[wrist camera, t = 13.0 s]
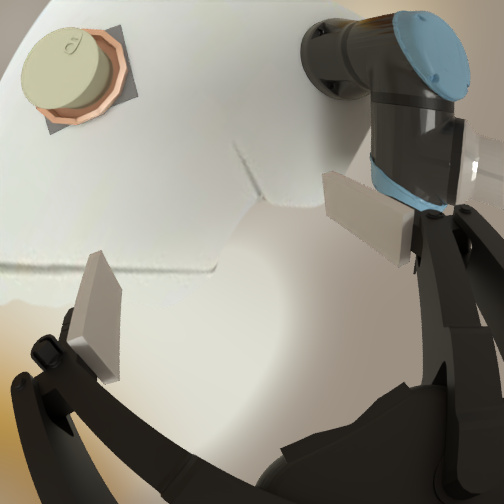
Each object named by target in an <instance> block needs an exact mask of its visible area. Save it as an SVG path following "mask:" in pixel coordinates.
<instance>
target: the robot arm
mask: <svg viewBox="0 0 504 504" xmlns="http://www.w3.org/2000/svg"><path fill="white" fill-rule="evenodd" d="M301 59H302V64H303V67H304V70H305V72H306V74H307V76H308V77H309V79H310V80H311V82H312V83H313V84H314V85H315V86H316V87H317V88H318V89H319V90H320V91H321V92H323V93H324V94H326V95H328V96H330V97H332V98H336V99H344V100H353V99H359V98H362V97H364V96H366V95H368V94H370V93H371V135H372V136H371V153H370V161H371V177H372V183H373V185H374V187H375V188H376V190H377V191H376V190H374V189H372V188H369V187H367V186H365V185H363V184H361V183H359V182H356V181H354V180H352V179H350V178H347V177H345V176H343V175H341V174H338V173H336V172H334V171H331V172H327V173H324V174H322V178H323V187H324V196H325V206H326V215H327V216H328V217H330V218H331V219H333V220H334V221H336V222H337V223H338V224H340V225H341V226H343V227H344V228H345V229H347V230H348V231H350V232H351V233H352V234H354V235H355V236H357V237H358V238H359V239H361V240H362V241H363V242H365V243H366V244H368V245H369V246H370V247H372V248H373V249H374V250H376V251H378V252H379V253H380V254H381V255H382V256H384V257H385V258H386V259H388V260H389V261H390V262H392V263H393V264H394V265H396V266H397V267H398V268H399V267H401V266H402V265H405V264H407V263H408V262H410V252H411V251H412V252H413V253H415V254H416V260H415V266H414V273H413V274H416V271H417V277H418V287H419V296H420V307H421V320H422V339H423V378H422V384H421V385H420V386H415V387H411V388H409V387H408V386H407V385H406V384H405V383H404V382H403V383H402V384H400V385H399V386H398V387H396V388H394V389H393V390H391V391H390V392H388V393H387V394H385V395H383V396H382V397H380V398H379V399H377V400H376V401H375V402H374V403H373V404H372V406H370V407H369V408H368V409H367V410H366V411H365V412H364V413H363V414H362V415H361V416H360V417H359V418H358V419H357V420H356V421H355V422H354V423H352V424H350V425H347V426H343V427H339V428H336V429H332V430H328V431H323V432H319V433H315V434H312V435H310V436H308V437H306V438H304V439H301V440H299V441H297V442H295V443H292V444H290V445H287V446H285V447H283V448H280V449H281V452H282V454H283V455H282V456H281V457H280V458H278V459H277V460H276V461H274V462H273V463H272V464H271V465H270V466H269V467H268V468H267V469H266V470H265V472H264V473H263V474H262V475H261V477H260V478H259V480H258V482H257V484H256V486H252V485H250V484H248V483H246V482H244V481H242V480H240V479H238V478H236V477H234V476H232V475H230V474H228V473H226V472H225V471H222V470H221V469H219V468H217V467H215V466H214V465H212V464H210V463H208V462H206V461H205V460H203V459H201V458H199V457H198V456H196V455H194V454H191V453H189V452H188V451H186V450H185V449H183V448H181V447H180V446H178V445H177V444H175V443H174V442H172V441H171V440H169V439H168V438H167V437H165V436H164V435H162V434H161V433H159V432H158V431H157V430H155V429H154V428H152V427H151V426H150V425H148V424H147V423H146V422H144V421H143V420H142V419H140V418H139V417H138V416H137V415H135V414H134V413H133V412H132V411H130V410H129V409H128V408H127V407H125V406H124V405H123V404H122V403H120V402H119V401H118V400H117V399H116V398H115V397H113V396H112V395H111V394H110V393H109V392H108V391H107V390H105V389H104V388H103V387H102V386H101V385H100V384H99V383H98V382H97V377H98V378H99V379H100V380H101V381H102V382H103V384H105V385H106V384H109V383H113V382H117V381H120V375H119V374H120V371H119V345H120V344H119V343H120V342H119V341H120V314H121V297H122V289H121V287H120V285H119V283H118V281H117V279H116V278H115V276H114V274H113V272H112V270H111V268H110V266H109V264H108V262H107V260H106V259H105V257H104V255H103V253H102V251H101V250H100V251H98V252H95V253H93V254H90V255H89V258H88V261H87V264H86V267H85V271H84V274H83V277H82V281H81V284H80V288H79V291H78V295H77V298H76V302H75V306H74V307H73V308H71V309H69V311H68V312H67V314H66V315H65V317H64V321H63V324H62V325H63V326H62V328H61V333H60V337H59V341H57V339H56V338H55V337H54V336H53V335H51V334H49V335H45V336H43V337H41V338H40V339H39V340H37V342H36V343H35V344H34V346H33V348H32V350H31V358H32V359H33V360H34V361H35V363H37V365H38V366H39V367H40V368H41V369H42V370H43V371H44V372H42V373H41V374H39V375H38V376H36V377H34V378H33V377H32V376H31V375H30V374H29V373H28V372H22V373H20V374H18V375H17V376H16V377H15V378H14V380H13V382H12V385H11V397H12V403H13V409H14V414H15V419H16V423H17V428H18V432H19V436H20V440H21V444H22V448H23V452H24V455H25V458H26V462H27V465H28V468H29V471H30V474H31V477H32V480H33V482H34V485H35V488H36V490H37V493H38V496H39V498H40V500H41V503H42V504H118V503H117V501H116V500H115V498H114V497H113V495H112V494H111V492H110V491H109V489H108V487H107V486H106V484H105V482H104V481H103V479H102V477H101V476H100V474H99V472H98V471H97V469H96V467H95V465H94V463H93V461H92V460H91V458H90V456H89V454H88V452H87V450H86V448H85V446H84V444H83V442H82V440H81V438H80V436H79V434H78V432H77V429H76V427H75V425H74V423H73V420H72V418H71V416H70V413H72V412H74V411H75V412H76V413H77V415H78V416H79V417H80V418H81V419H82V421H83V422H84V423H85V424H86V425H87V426H88V427H89V428H90V429H91V431H92V432H94V434H95V435H96V436H97V437H98V438H99V439H100V440H101V441H102V442H103V443H104V444H105V445H106V446H107V447H108V448H109V449H110V450H111V451H112V452H113V453H114V454H115V455H116V456H117V457H118V458H119V459H121V460H122V461H123V462H124V463H125V464H126V465H127V466H128V467H129V468H130V469H132V470H133V471H134V472H135V473H136V474H137V475H139V476H140V477H141V478H142V479H143V480H145V481H146V482H147V483H149V484H150V485H151V486H152V487H153V488H155V489H156V490H157V491H158V492H159V493H160V494H161V497H162V498H163V499H164V500H165V501H166V502H168V503H169V504H504V398H502V391H501V383H500V375H499V368H498V362H497V356H496V351H495V346H494V341H493V338H494V340H495V342H496V344H497V347H498V349H499V352H500V354H501V356H502V359H503V361H504V239H503V238H502V237H501V236H500V235H499V234H498V232H497V231H496V230H495V229H494V228H493V227H492V226H491V225H490V224H489V223H488V222H487V221H486V220H485V219H484V218H483V217H482V216H481V215H480V214H479V213H478V212H477V211H476V210H475V209H474V208H473V207H470V206H469V205H465V204H463V203H464V202H466V201H467V200H470V199H473V200H476V201H479V202H483V203H486V204H489V205H492V206H495V207H498V208H501V209H503V210H504V142H503V141H500V140H496V139H493V138H489V137H486V136H482V135H479V134H478V133H477V132H476V131H475V130H474V128H473V127H472V126H471V124H470V123H469V122H468V121H467V120H464V119H460V118H456V117H454V101H457V100H460V99H462V98H464V97H465V95H466V94H467V92H468V90H467V88H468V87H469V85H470V69H469V64H468V59H467V56H466V53H465V50H464V48H463V46H462V44H461V42H460V40H459V38H458V37H457V36H456V34H455V32H454V31H453V29H452V28H451V27H450V26H449V25H448V24H447V23H446V22H445V21H444V20H443V19H441V18H440V17H439V16H437V15H435V14H433V13H431V12H427V11H399V12H396V13H392V14H387V15H382V16H378V17H373V18H369V19H365V20H361V21H354V20H347V19H340V18H333V19H327V20H324V21H321V22H319V23H316V24H315V25H313V26H312V27H311V28H310V29H309V30H308V31H307V32H306V34H305V36H304V38H303V41H302V45H301ZM378 191H379V192H378ZM448 204H450V205H453V206H454V212H453V215H449V216H445V215H444V214H443V213H442V212H443V211H444V209H445V208H446V207H447V205H448ZM471 244H472V249H471ZM475 302H476V303H475ZM476 304H477V306H478V308H479V310H480V311H481V314H482V315H483V317H484V319H485V321H486V323H487V325H488V326H486V327H483V326H481V323H480V319H479V315H478V311H477V307H476Z"/></svg>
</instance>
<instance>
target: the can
mask: <svg viewBox="0 0 504 504" xmlns="http://www.w3.org/2000/svg"><path fill="white" fill-rule="evenodd" d="M112 79H113V65H112V61H111V59H110V58H109V56H108V55H107V54H106V53H105V52H104V51H102V50H101V49H100V47H99V46H98V45H97V43H96V41H95V40H94V38H93V37H92V36H91V35H90V34H89V33H88V32H86V31H85V30H82V29H79V28H74V27H69V28H62V29H59V30H56V31H53V32H51V33H50V34H48V35H46V36H45V37H43V38H42V39H41V40H40V41H39V42H38V43H37V44H36V45H35V46H34V47H33V48H32V50H31V51H30V53H29V54H28V56H27V58H26V60H25V62H24V65H23V69H22V74H21V85H22V90H23V92H24V95H25V96H26V98H27V99H28V100H29V102H31V103H32V104H33V105H35V106H37V107H39V108H42V109H56V108H69V109H83V108H87V107H89V106H91V105H93V104H95V103H96V102H98V101H99V100H100V99H101V98H102V97H103V96H104V95H105V93H106V92H107V91H108V89H109V87H110V85H111V82H112Z"/></svg>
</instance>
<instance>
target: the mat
mask: <svg viewBox="0 0 504 504" xmlns="http://www.w3.org/2000/svg"><path fill="white" fill-rule="evenodd" d="M104 31H105V32H107V33H108V34H109V35H110V36H112V37H113V38H114V39H115V40H117V41H118V42H119V43H120V44H121V45H122V47H123V50H124V55H125V59H126V63H127V67H128V73H127V76H126V80H125V84H124V87H123V89H122V93H121V95H120V96H119V97H118V98H117V99H116V101H115V102H114V103H113V104H112V105H111V106H114V105H117V104H119V103H122V102H124V101H127V100H130V99H132V98H135V97H138V94H137V91H136V87H135V83H134V79H133V75H132V71H131V67H130V63H129V59H128V55H127V51H126V47H125V42H124V38H123V33H122V29H121V25H118V26H115V27H113V28H110V29H107V30H104ZM111 106H110V107H111ZM45 119H46V123H47V126H48V130H49V133H50V135H51V134H53V133H55V132H57V131H59V130H61V129H63V128H65V127H67V126H69V125H71V124H60V123H52V122H51V121H50V120H49V119H48V118H47V117H45Z"/></svg>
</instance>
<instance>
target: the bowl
mask: <svg viewBox="0 0 504 504" xmlns="http://www.w3.org/2000/svg"><path fill="white" fill-rule="evenodd" d="M82 30H85V31H86V32H88V33H89V34H90V35H91V36H92V37H93V38H94V40H95V41H96V43H97V45H98V46H99V47H100V49H101V50H102V51H104V52H105V53H106V54H107V55H108V56H109V58H110V59H111V61H112V65H113V79H112V82H111V85H110V87H109V89H108V91H107V92H106V93H105V95H104V96H103V97H102V98H101V99H100V100H99V101H98V102H96V103H95V104H93V105H91V106H89V107H87V108H83V109H69V108H56V109H42V108H39V107H37V106H36V109H37V110H38V111H40V112H41V113H42V114H43V115H44V116H45V117H47V118H48V119H49V120H50V121H51V122H52V123H60V124H72V125H78V124H82V123H84V122H86V121H88V120H91V119H93V118H95V117H97V116H100V115H102V114H104V113H105V112H106V111H107V109H108V108H109V107H110V106H111V105H112V104H113V103H114V102H115V101H116V99H117V98H118V97H119V96H120V95H121V93H122V89H123V87H124V84H125V80H126V76H127V73H128V67H127V63H126V59H125V55H124V50H123V47H122V45H121V44H120V43H119V42H118V41H117V40H115V39H114V38H113V37H112V36H110V35H109V34H108V33H107V32H105V31H104V30H94V29H82Z"/></svg>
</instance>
